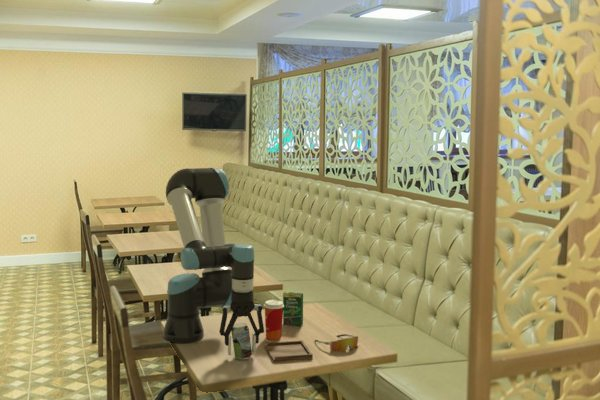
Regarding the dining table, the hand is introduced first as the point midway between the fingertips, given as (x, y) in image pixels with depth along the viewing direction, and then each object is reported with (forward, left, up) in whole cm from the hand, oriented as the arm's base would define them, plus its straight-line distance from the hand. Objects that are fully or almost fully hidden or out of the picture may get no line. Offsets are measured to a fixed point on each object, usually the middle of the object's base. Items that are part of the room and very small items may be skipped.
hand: (241, 353), depth 227 cm
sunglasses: (-6, +37, -2) cm, 38 cm away
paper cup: (-17, +15, -2) cm, 23 cm away
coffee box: (-31, +26, -2) cm, 41 cm away
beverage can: (0, 0, -2) cm, 2 cm away
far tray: (-1, +17, -2) cm, 17 cm away
